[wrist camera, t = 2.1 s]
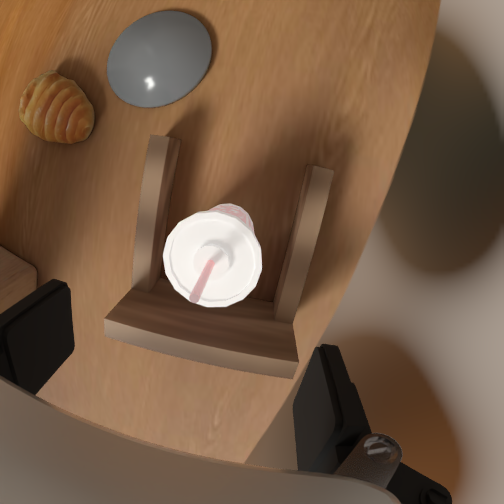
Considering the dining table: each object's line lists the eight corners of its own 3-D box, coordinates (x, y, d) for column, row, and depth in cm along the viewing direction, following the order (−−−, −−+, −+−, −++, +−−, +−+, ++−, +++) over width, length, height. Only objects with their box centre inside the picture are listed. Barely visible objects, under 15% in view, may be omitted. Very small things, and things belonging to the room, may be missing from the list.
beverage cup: (179, 223, 27) (108, 283, 13) (233, 180, 26) (202, 202, 12) (222, 274, 28) (191, 371, 15) (276, 235, 27) (289, 311, 14)
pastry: (112, 99, 24) (93, 92, 20) (81, 160, 26) (59, 162, 22) (54, 70, 23) (33, 63, 19) (28, 125, 24) (5, 124, 21)
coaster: (125, 14, 21) (123, 12, 20) (223, 16, 21) (222, 13, 20) (99, 105, 24) (96, 104, 23) (198, 113, 24) (196, 112, 23)
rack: (164, 137, 25) (119, 128, 16) (324, 169, 25) (356, 174, 16) (144, 288, 29) (104, 336, 20) (285, 319, 29) (292, 379, 21)
